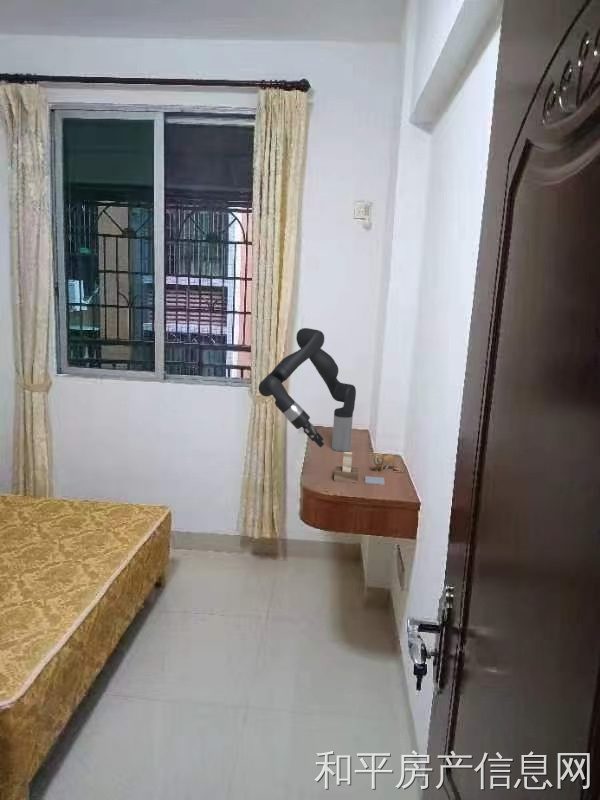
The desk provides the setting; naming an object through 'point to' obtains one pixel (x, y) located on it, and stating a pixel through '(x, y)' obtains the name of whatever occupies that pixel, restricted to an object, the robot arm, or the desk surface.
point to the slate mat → (374, 480)
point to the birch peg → (347, 461)
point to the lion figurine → (383, 461)
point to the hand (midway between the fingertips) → (322, 443)
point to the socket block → (346, 475)
